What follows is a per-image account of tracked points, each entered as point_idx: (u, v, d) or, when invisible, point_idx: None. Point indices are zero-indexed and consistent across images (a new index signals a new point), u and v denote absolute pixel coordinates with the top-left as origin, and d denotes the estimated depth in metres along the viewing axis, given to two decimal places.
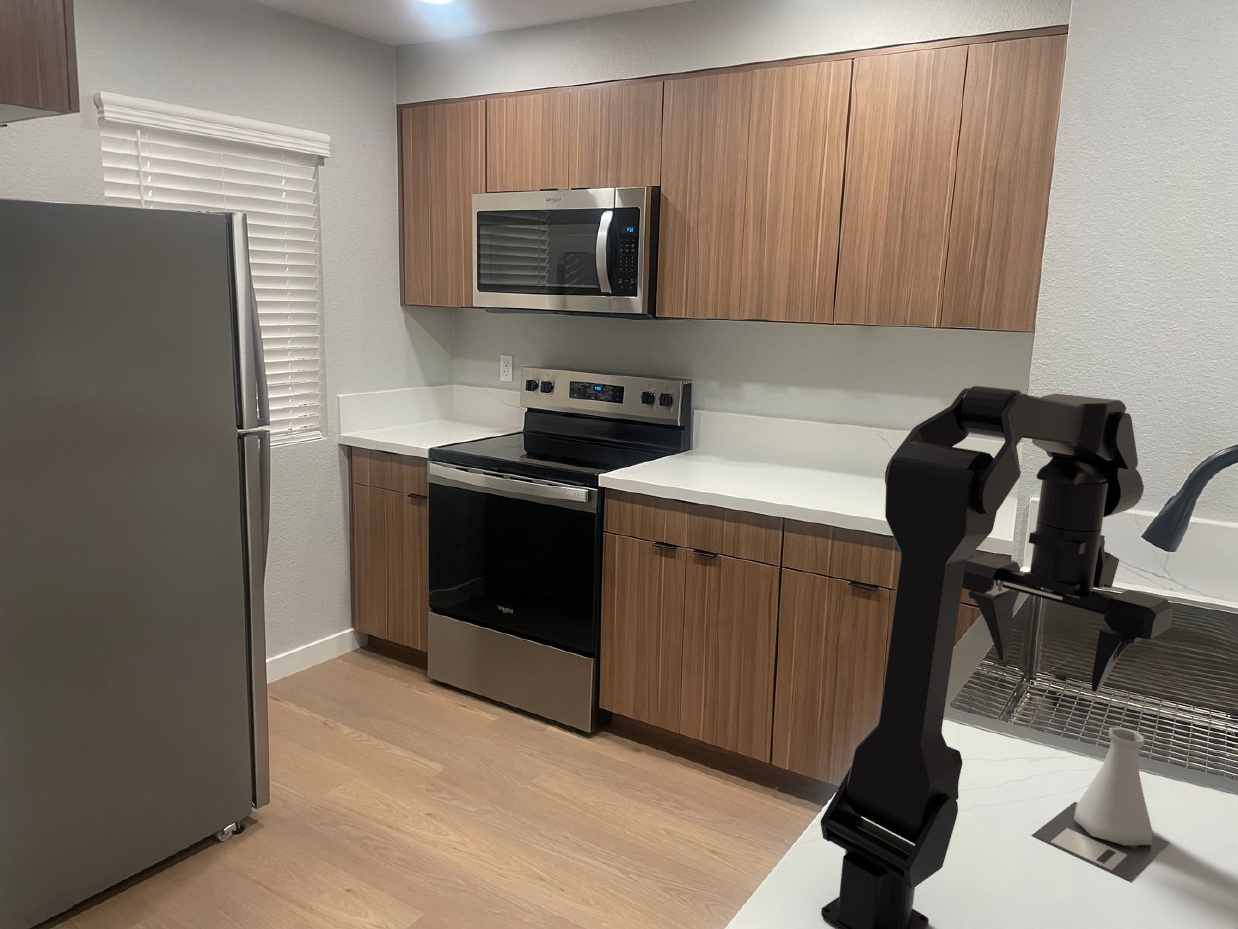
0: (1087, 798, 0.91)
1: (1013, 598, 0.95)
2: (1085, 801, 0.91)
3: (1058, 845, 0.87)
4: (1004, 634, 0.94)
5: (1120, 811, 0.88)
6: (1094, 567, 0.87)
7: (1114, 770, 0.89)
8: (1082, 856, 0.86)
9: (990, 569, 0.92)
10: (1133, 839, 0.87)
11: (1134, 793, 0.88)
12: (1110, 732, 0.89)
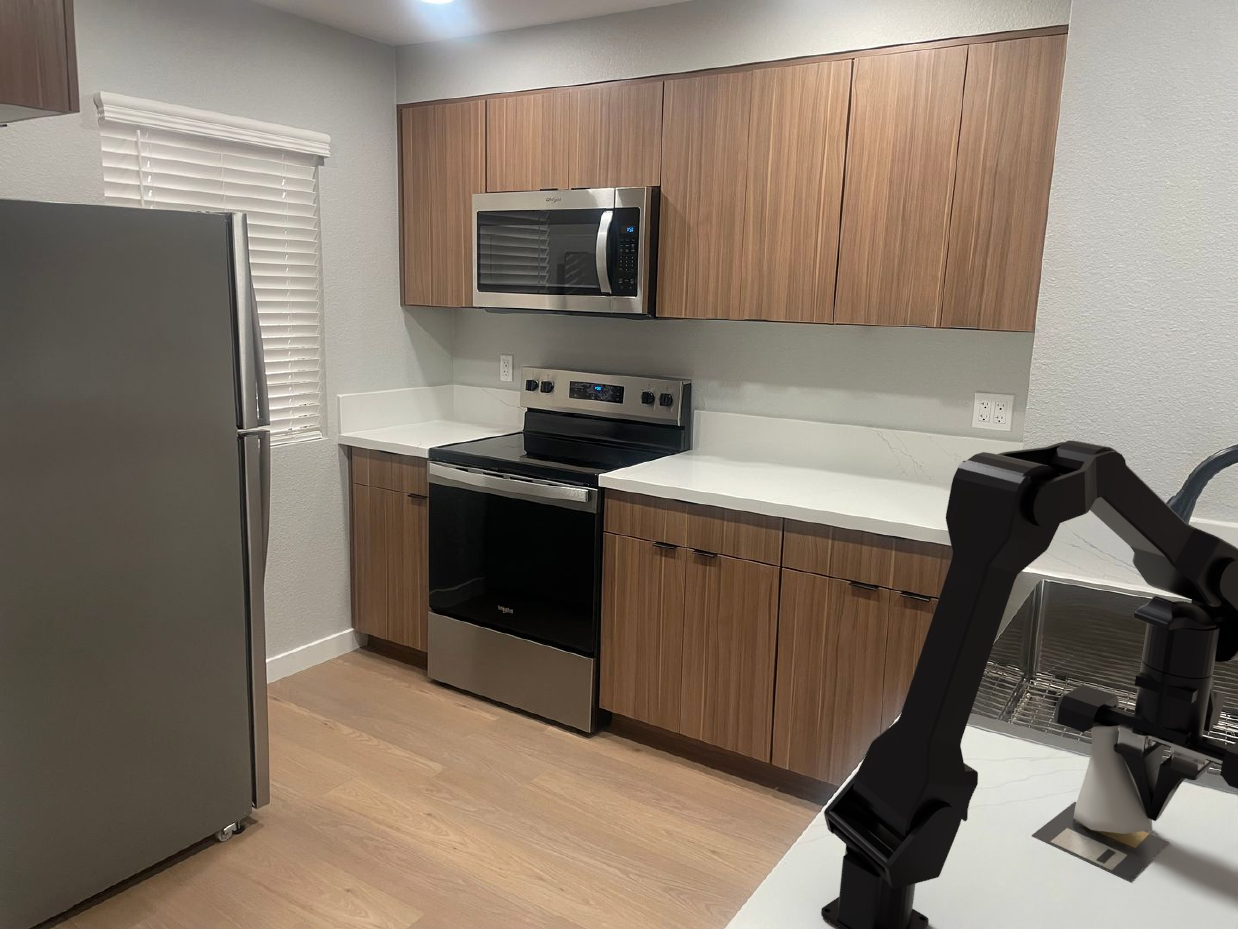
0: (1081, 794, 0.91)
1: (1161, 750, 0.88)
2: (1080, 797, 0.91)
3: (1058, 845, 0.87)
4: (1153, 791, 0.87)
5: (1113, 800, 0.88)
6: (1205, 713, 0.84)
7: (1099, 759, 0.90)
8: (1082, 856, 0.86)
9: (1091, 707, 0.89)
10: (1132, 826, 0.87)
11: (1123, 779, 0.89)
12: None
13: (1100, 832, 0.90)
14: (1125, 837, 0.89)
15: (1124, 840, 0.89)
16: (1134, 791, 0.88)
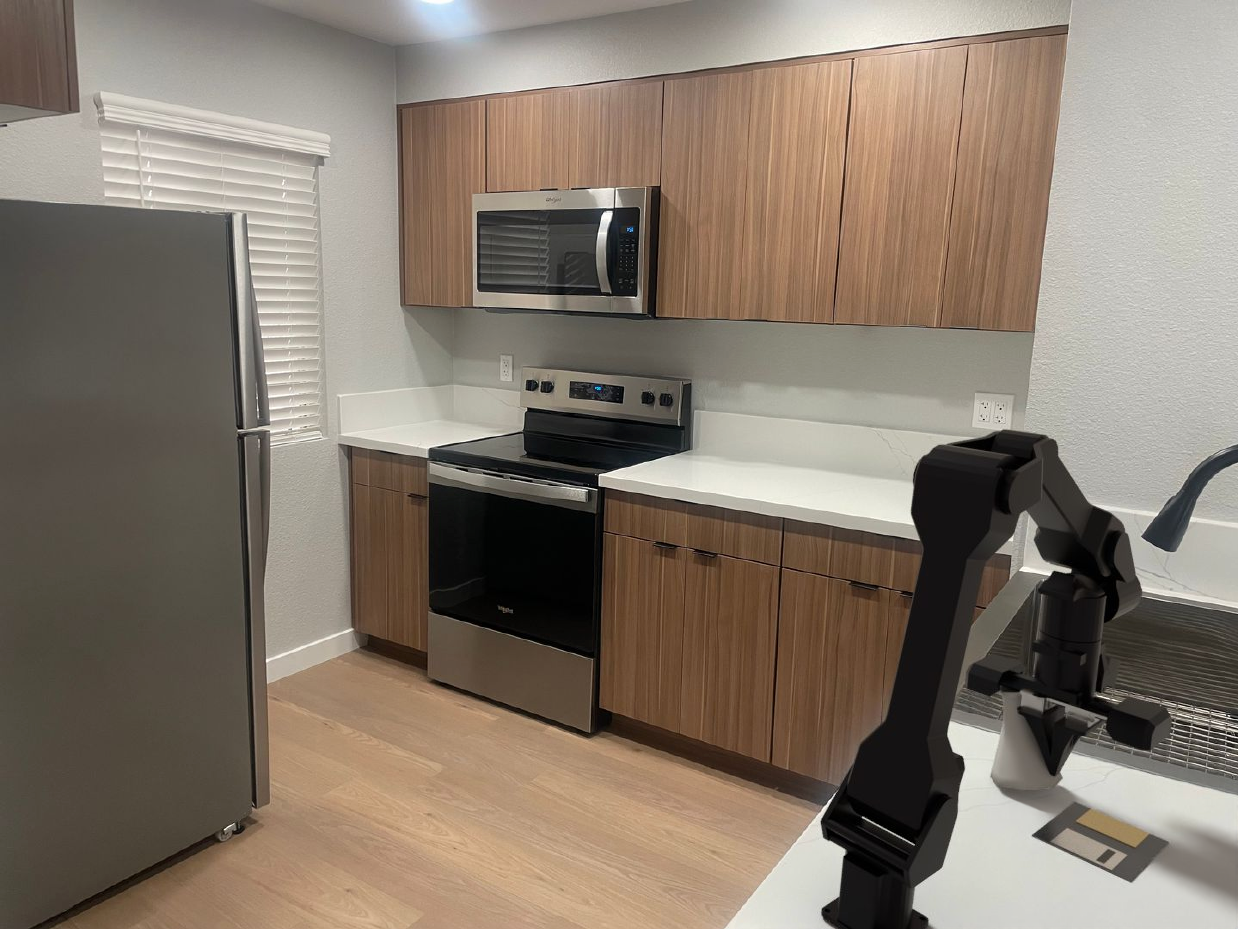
0: (996, 754, 0.99)
1: (1062, 712, 0.95)
2: (995, 757, 0.99)
3: (1058, 845, 0.87)
4: None
5: (1018, 759, 0.96)
6: (1095, 675, 0.91)
7: (1007, 722, 0.97)
8: (1082, 856, 0.86)
9: (996, 673, 0.96)
10: (1034, 784, 0.95)
11: (1028, 740, 0.96)
12: None
13: (1100, 832, 0.90)
14: (1125, 837, 0.89)
15: (1124, 840, 0.89)
16: (1039, 752, 0.96)
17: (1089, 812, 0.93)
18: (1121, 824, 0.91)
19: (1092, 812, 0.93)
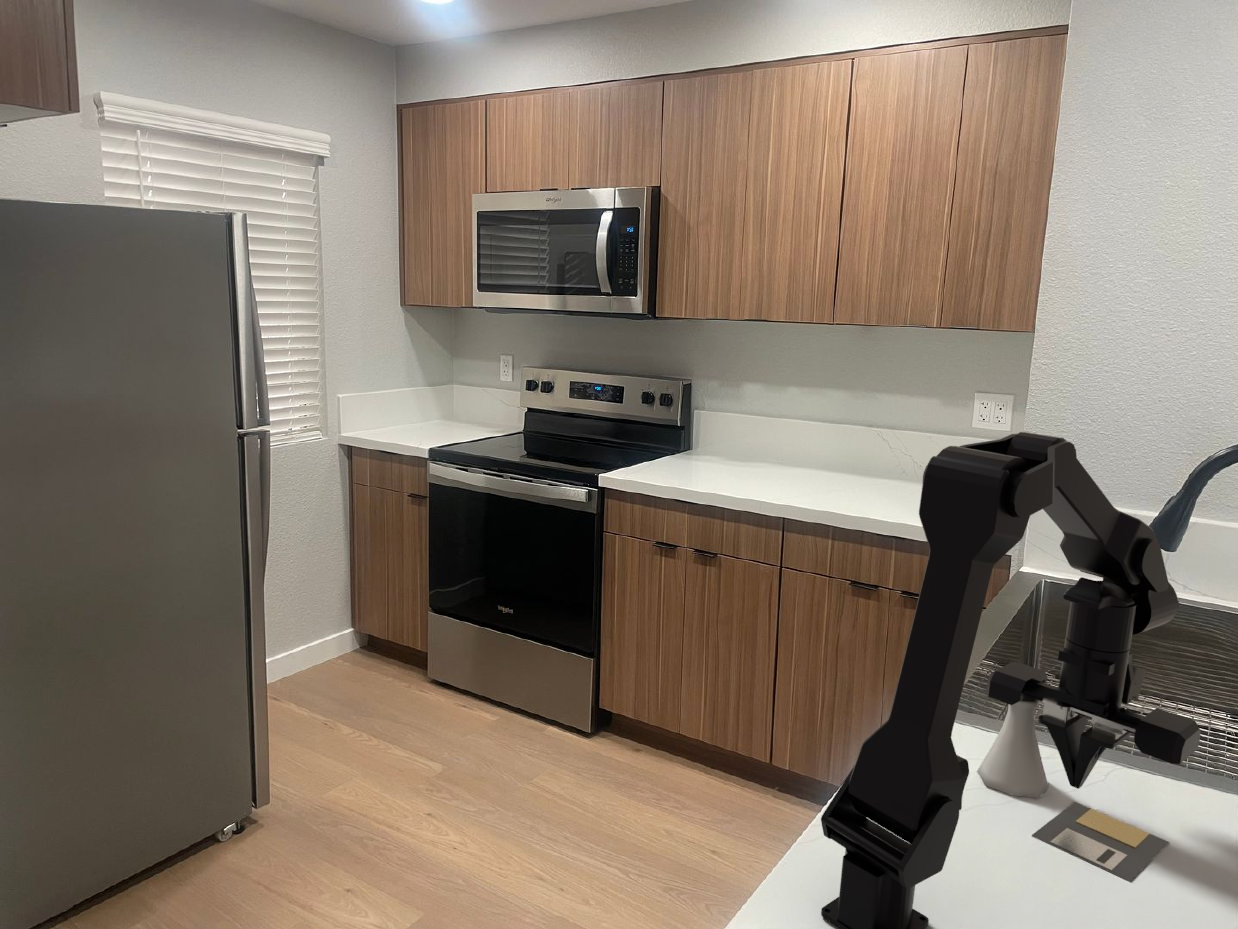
0: (988, 752, 1.00)
1: (1084, 722, 0.94)
2: (986, 755, 1.00)
3: (1058, 845, 0.87)
4: (1075, 760, 0.92)
5: (1010, 764, 0.97)
6: (1123, 686, 0.89)
7: (1009, 727, 0.97)
8: (1082, 856, 0.86)
9: (1019, 681, 0.94)
10: (1021, 790, 0.96)
11: (1025, 749, 0.96)
12: None
13: (1100, 832, 0.90)
14: (1125, 837, 0.89)
15: (1124, 840, 0.89)
16: (1033, 761, 0.96)
17: (1089, 812, 0.93)
18: (1121, 824, 0.91)
19: (1092, 812, 0.93)
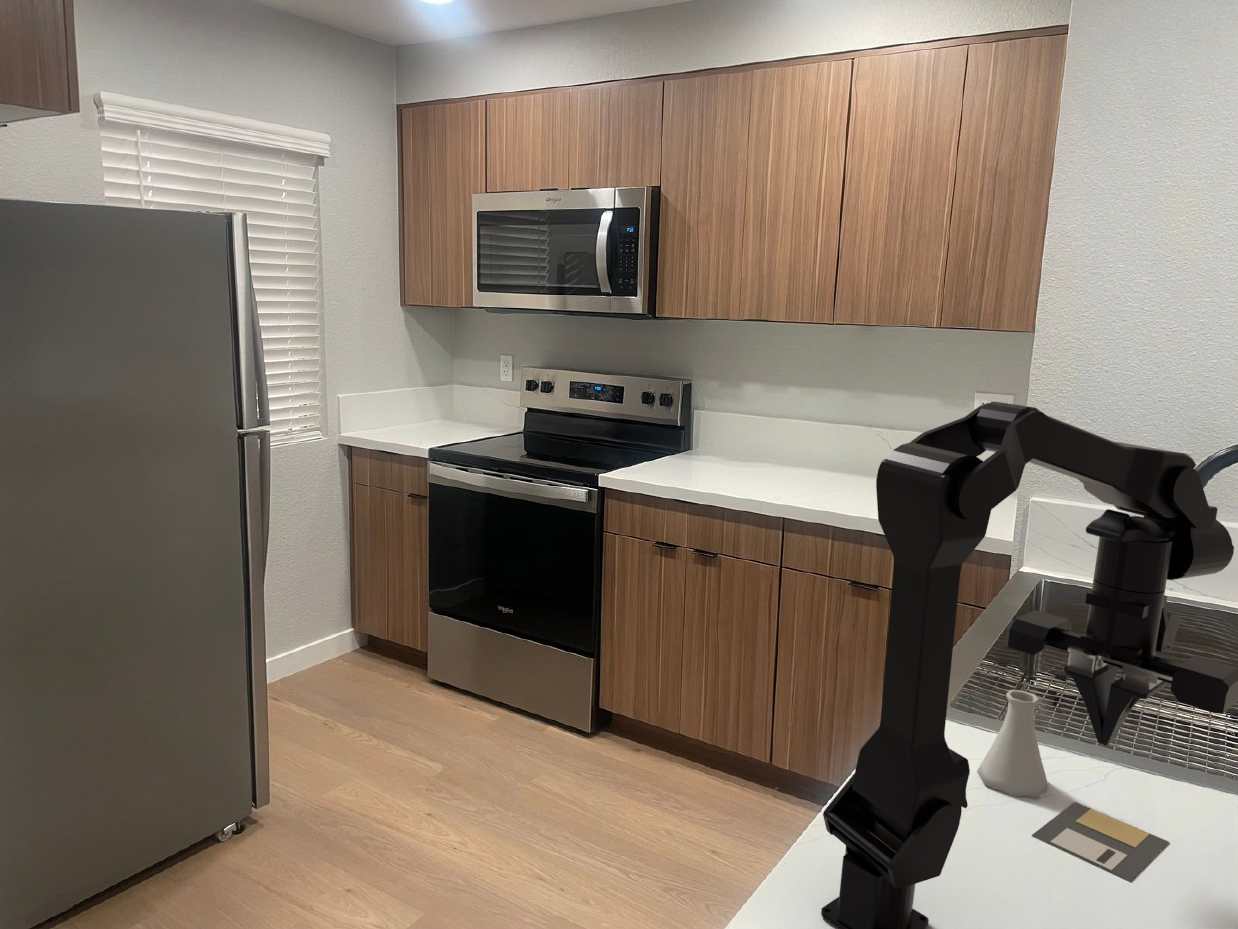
0: (988, 752, 1.00)
1: (1113, 673, 0.85)
2: (986, 755, 1.00)
3: (1058, 845, 0.87)
4: (1104, 714, 0.84)
5: (1010, 764, 0.97)
6: (1157, 631, 0.81)
7: (1008, 727, 0.97)
8: (1082, 856, 0.86)
9: (1042, 629, 0.86)
10: (1021, 790, 0.96)
11: (1025, 749, 0.96)
12: (1008, 693, 0.98)
13: (1100, 832, 0.90)
14: (1125, 837, 0.89)
15: (1124, 840, 0.89)
16: (1032, 761, 0.96)
17: (1089, 812, 0.93)
18: (1121, 824, 0.91)
19: (1092, 812, 0.93)
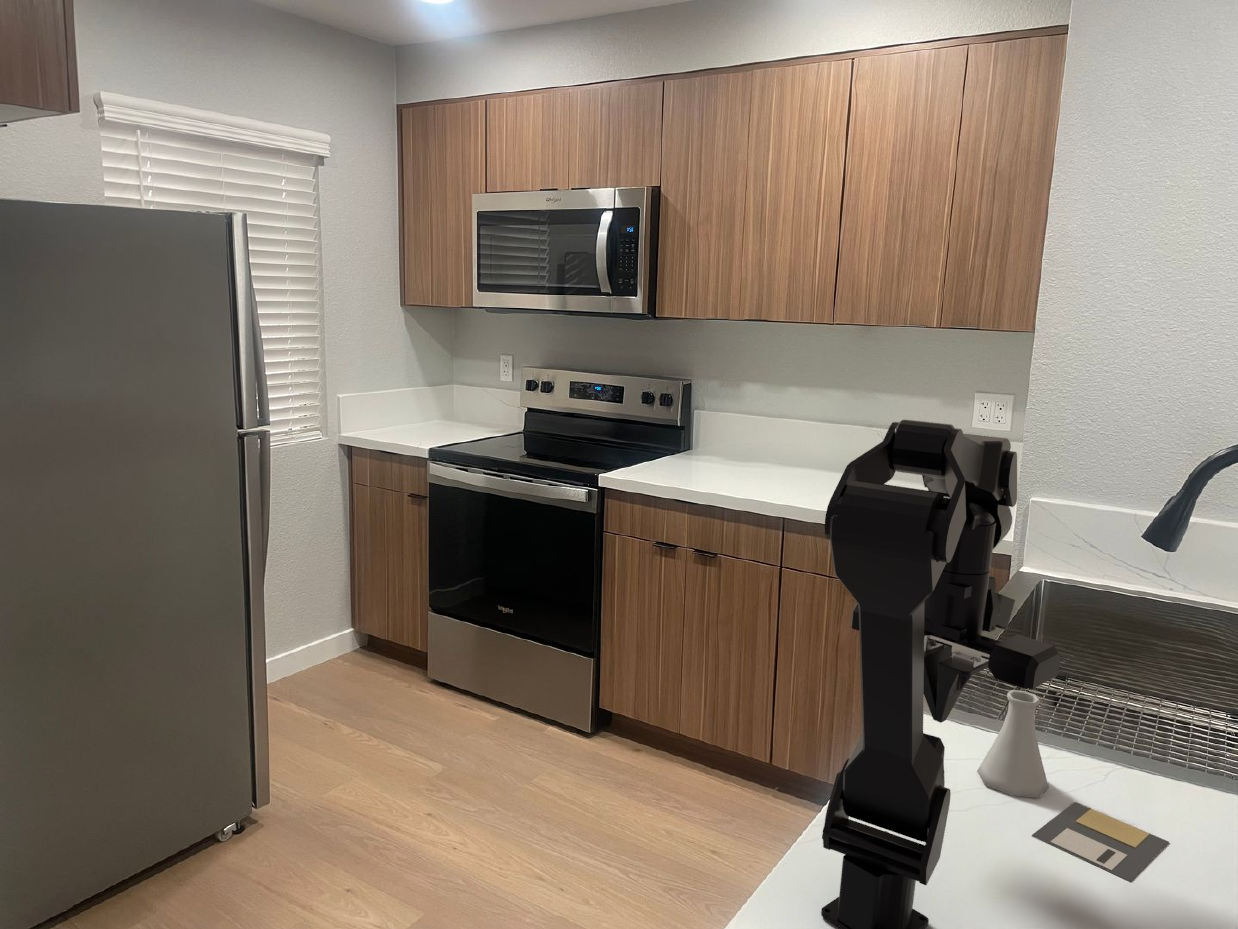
0: (988, 752, 1.00)
1: (948, 653, 0.89)
2: (986, 755, 1.00)
3: (1058, 845, 0.87)
4: None
5: (1010, 764, 0.97)
6: (982, 611, 0.84)
7: (1009, 727, 0.97)
8: (1082, 856, 0.86)
9: None
10: (1020, 790, 0.96)
11: (1025, 749, 0.96)
12: (1008, 693, 0.98)
13: (1100, 832, 0.90)
14: (1125, 837, 0.89)
15: (1124, 840, 0.89)
16: (1033, 761, 0.96)
17: (1089, 812, 0.93)
18: (1121, 824, 0.91)
19: (1092, 812, 0.93)
